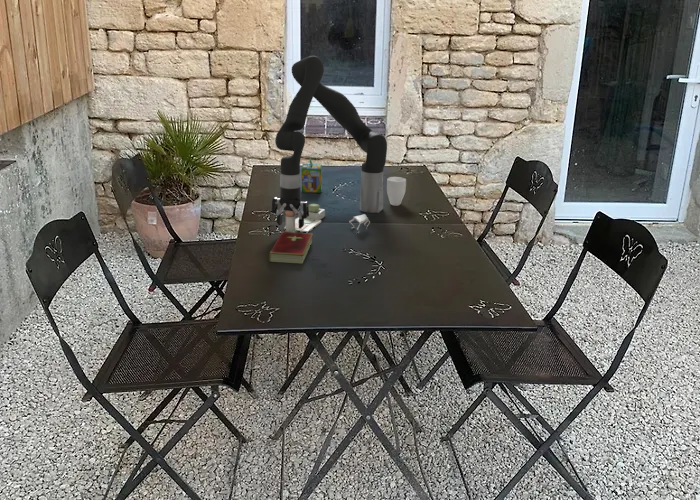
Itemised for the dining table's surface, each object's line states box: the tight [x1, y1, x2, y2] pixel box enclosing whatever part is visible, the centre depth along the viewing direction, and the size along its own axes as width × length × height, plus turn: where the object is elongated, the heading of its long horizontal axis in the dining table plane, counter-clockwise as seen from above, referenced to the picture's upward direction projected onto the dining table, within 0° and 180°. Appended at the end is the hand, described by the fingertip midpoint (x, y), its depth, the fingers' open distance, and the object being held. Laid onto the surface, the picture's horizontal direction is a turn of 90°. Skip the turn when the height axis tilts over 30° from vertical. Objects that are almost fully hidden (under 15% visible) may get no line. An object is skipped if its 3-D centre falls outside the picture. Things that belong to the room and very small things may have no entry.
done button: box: [308, 203, 320, 213], centre depth 273 cm, size 4×4×3 cm
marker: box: [284, 210, 296, 233], centre depth 252 cm, size 4×4×10 cm
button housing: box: [307, 208, 326, 221], centre depth 274 cm, size 7×7×3 cm
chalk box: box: [301, 157, 323, 194], centre depth 308 cm, size 9×9×15 cm
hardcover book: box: [268, 231, 314, 265], centre depth 238 cm, size 12×21×4 cm, turn 174°
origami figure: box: [348, 213, 371, 234], centre depth 262 cm, size 12×8×5 cm
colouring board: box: [283, 216, 322, 233], centre depth 265 cm, size 10×14×1 cm
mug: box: [386, 176, 407, 207], centre depth 295 cm, size 12×8×11 cm
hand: (290, 226), depth 253 cm, fingers open, 8 cm apart
